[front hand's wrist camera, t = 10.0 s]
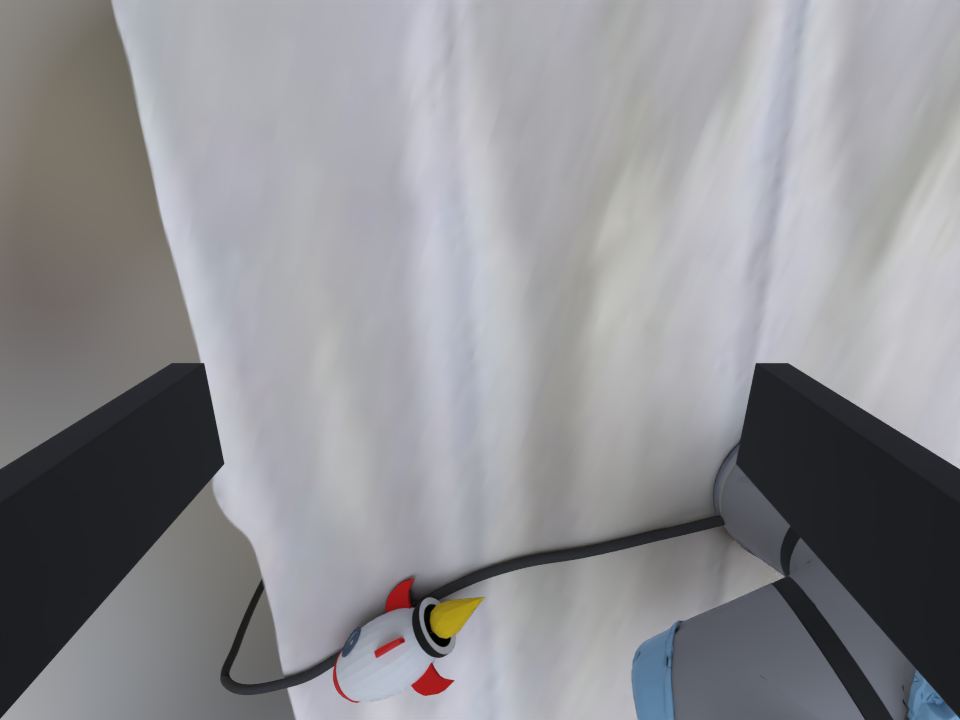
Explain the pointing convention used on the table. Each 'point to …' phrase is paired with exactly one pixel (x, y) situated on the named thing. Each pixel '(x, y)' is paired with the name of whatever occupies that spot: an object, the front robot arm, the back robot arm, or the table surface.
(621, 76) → the table surface
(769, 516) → the front robot arm
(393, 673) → the toy rocket
